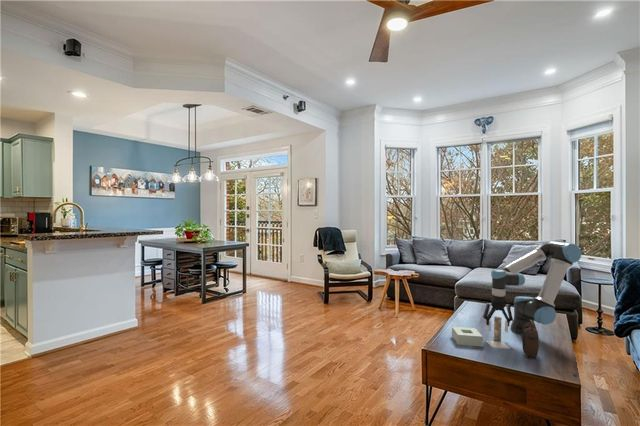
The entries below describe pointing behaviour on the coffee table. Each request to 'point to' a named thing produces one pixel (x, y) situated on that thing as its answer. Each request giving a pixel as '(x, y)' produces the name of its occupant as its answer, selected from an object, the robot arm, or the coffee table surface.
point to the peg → (497, 328)
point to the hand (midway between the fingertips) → (497, 330)
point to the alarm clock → (530, 340)
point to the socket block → (467, 336)
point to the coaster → (497, 344)
